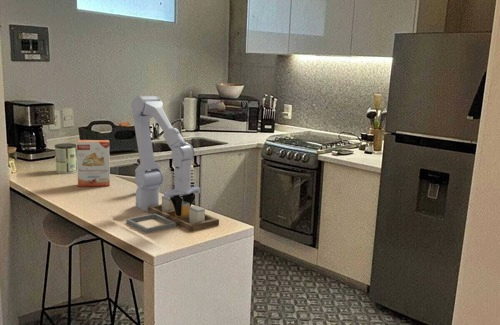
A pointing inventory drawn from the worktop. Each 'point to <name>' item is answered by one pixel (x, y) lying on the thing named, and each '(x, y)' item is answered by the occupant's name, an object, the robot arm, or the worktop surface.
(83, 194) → the worktop surface
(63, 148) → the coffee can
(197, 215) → the block
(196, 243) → the worktop surface
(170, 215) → the holder
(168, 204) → the block
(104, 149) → the cracker box
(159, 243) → the worktop surface
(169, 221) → the tray
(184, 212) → the grey and orange block
